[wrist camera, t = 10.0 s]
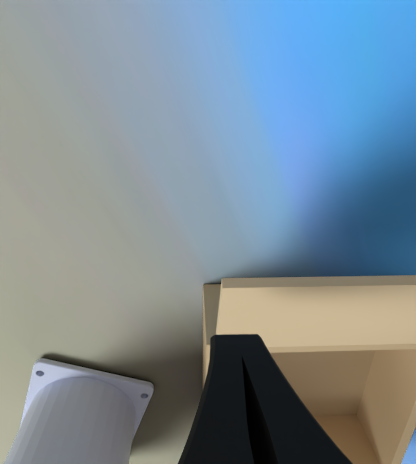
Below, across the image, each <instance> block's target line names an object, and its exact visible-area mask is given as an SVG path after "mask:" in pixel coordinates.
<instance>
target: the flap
mask: <svg viewBox="0 0 416 464" xmlns="http://www.w3.org/2000/svg"><path fill="white" fill-rule="evenodd" d="M221 334H258V335H259V336H260V337H261V338H262V340H263V342H264V344H265V345H266V347H299V346H340V345H381V344H416V275H398V276H334V277H270V278H222V281H221V290H220V299H219V309H218V318H217V327H216V335H221Z"/></svg>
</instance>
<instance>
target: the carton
mask: <svg viewBox="0 0 416 464" xmlns="http://www.w3.org/2000/svg"><path fill="white" fill-rule="evenodd" d="M220 290H221V284H204V285H203V388H204V384H205V380H206V376H207V371H208V366H209V360H210V338H211V337H212V336H213V335H216V327H217V318H218V309H219V299H220ZM267 349H268V351H269V352H270V354H271V356H272V357H273V359H274V360H275V362H276V364H277V365H278V367H279V368H280V370H281V372H282V373H283V375H284V376H285V378H286V379H287V381H288V382H289V384H290V385H291V386H292V388H293V389H294V391H295V392H296V393H297V395H298V396H299V398H300V399H301V401H302V402H303V403H304V405H305V406H306V407H307V409H308V410H309V411H310V413H311V414H312V415H313V417H314V418H315V419H316V420H317V422H318V423H319V424H320V426H321V427H322V428H323V429H324V431H325V432H326V433H327V434H328V436H329V437H330V438H331V439H332V440H333V442H334V443H335V444H336V445H337V446H338V447H339V449H340V450H341V451H342V452H343V453H344V454H345V456H346V457H347V458H348V459H349V460H350V461H351V462H352V463H353V464H401V462H402V459H403V457H404V454H405V452H406V450H407V447H408V445H409V442H410V440H411V437H412V435H413V432H414V430H415V427H416V344H381V345H340V346H299V347H267Z"/></svg>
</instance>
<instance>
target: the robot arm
mask: <svg viewBox="0 0 416 464" xmlns="http://www.w3.org/2000/svg"><path fill="white" fill-rule="evenodd" d="M42 371H43V372H42ZM153 392H154V385H153V384H152V383H150V382H147V381H143V380H138V379H134V378H129V377H125V376H120V375H116V374H111V373H107V372H102V371H98V370H93V369H89V368H85V367H80V366H76V365H71V364H67V363H62V362H58V361H53V360H49V359H44V358H41V359H38V360H36V362H35V364H34V366H33V371H32V375H31V379H30V384H29V388H28V393H27V397H26V402H25V406H24V411H23V415H22V420H21V424H20V428H19V431H18V433H17V435H16V437H15V439H14V441H13V444H12V446H11V448H10V450H9V452H8V455H7V457H6V459H5V461H4V463H3V464H129V458H130V451H131V445H132V440H133V438H134V436H135V433H136V431H137V429H138V426H139V424H140V422H141V420H142V417H143V415H144V413H145V410H146V408H147V406H148V403H149V401H150V399H151V397H152V394H153ZM143 393H146V394H143ZM178 464H353V463H352V462H351V461H350V460H349V459H348V458H347V457H346V456H345V454H344V453H343V452H342V451H341V450H340V449H339V447H338V446H337V445H336V444H335V443H334V442H333V440H332V439H331V438H330V437H329V436H328V434H327V433H326V432H325V431H324V429H323V428H322V427H321V426H320V424H319V423H318V422H317V420H316V419H315V418H314V417H313V415H312V414H311V413H310V411H309V410H308V409H307V407H306V406H305V405H304V403H303V402H302V401H301V399H300V398H299V396H298V395H297V393H296V392H295V391H294V389H293V388H292V386H291V385H290V384H289V382H288V381H287V379H286V378H285V376H284V375H283V373H282V372H281V370H280V368H279V367H278V365H277V364H276V362H275V360H274V359H273V357H272V356H271V354H270V352H269V351H268V349H267V347H266V345H265V344H264V342H263V340H262V338H261V337H260V336H259V335H258V334H221V335H213V336H212V337H211V338H210V360H209V366H208V371H207V376H206V380H205V384H204V388H203V392H202V396H201V400H200V403H199V406H198V410H197V413H196V416H195V419H194V422H193V425H192V428H191V431H190V434H189V437H188V439H187V442H186V445H185V447H184V450H183V452H182V455H181V458H180V460H179V462H178Z"/></svg>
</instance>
